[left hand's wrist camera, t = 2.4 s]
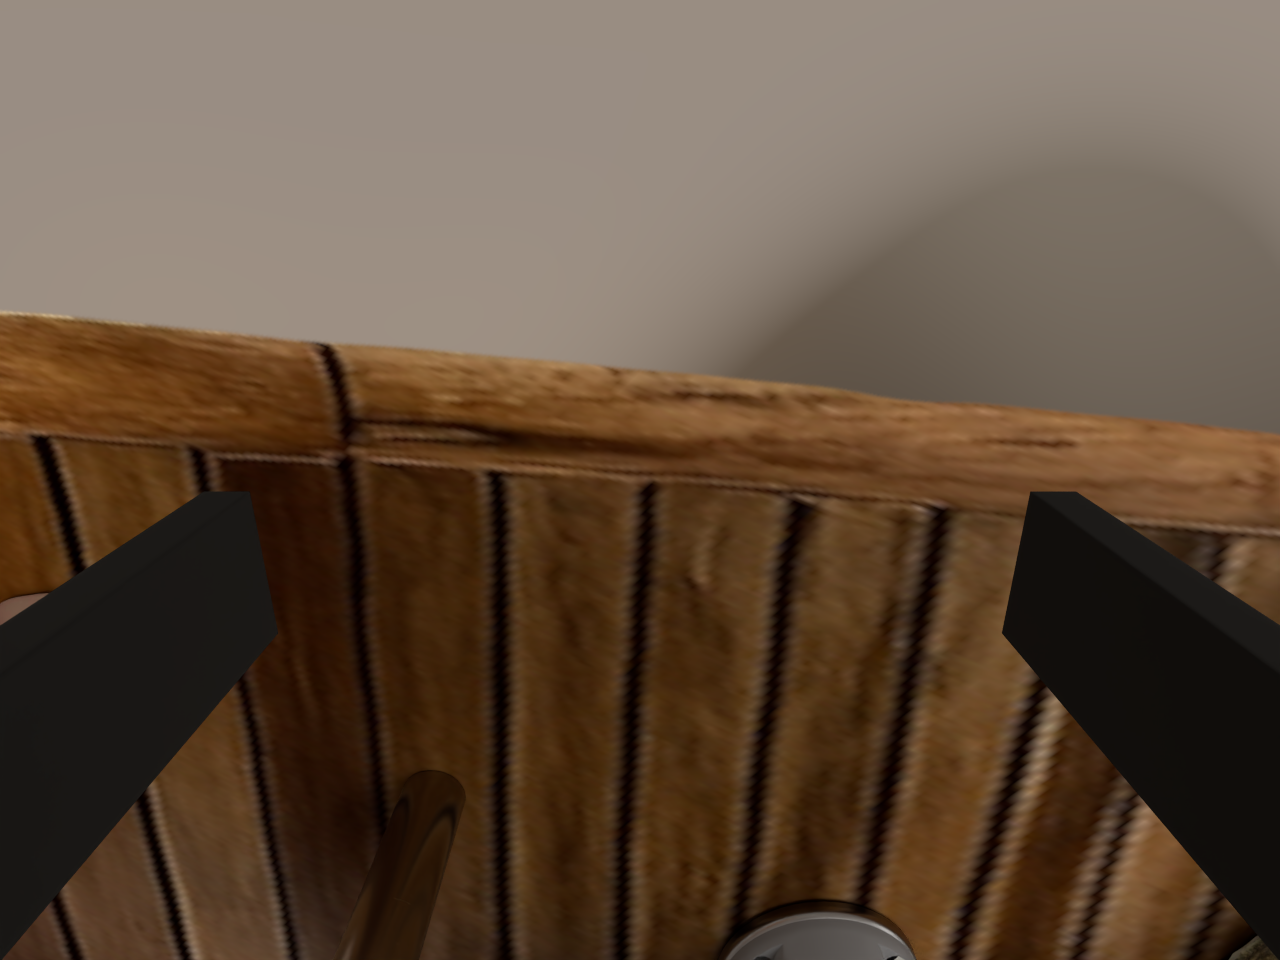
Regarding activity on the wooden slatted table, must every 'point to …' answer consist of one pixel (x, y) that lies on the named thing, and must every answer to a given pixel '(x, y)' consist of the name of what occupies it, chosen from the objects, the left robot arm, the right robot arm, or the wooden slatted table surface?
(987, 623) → the wooden slatted table surface
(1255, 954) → the fossil
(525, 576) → the wooden slatted table surface
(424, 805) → the dark brown cylindrical piece
